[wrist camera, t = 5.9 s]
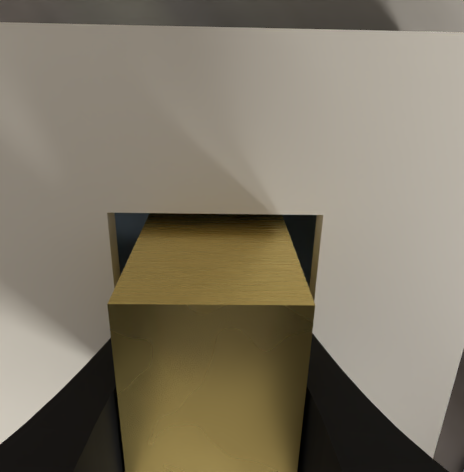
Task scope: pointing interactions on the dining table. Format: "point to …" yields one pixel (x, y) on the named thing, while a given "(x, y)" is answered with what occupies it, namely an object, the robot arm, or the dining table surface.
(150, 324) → the gold block
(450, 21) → the dining table surface
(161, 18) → the dining table surface
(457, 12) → the dining table surface
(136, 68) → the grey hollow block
